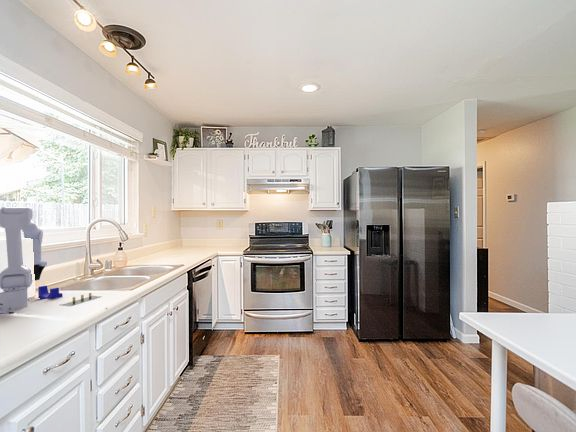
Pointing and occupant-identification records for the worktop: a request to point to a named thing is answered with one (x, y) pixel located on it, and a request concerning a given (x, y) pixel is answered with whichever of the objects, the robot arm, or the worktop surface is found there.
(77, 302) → the header plate
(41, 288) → the cable clip
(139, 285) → the worktop surface
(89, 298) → the header pins
